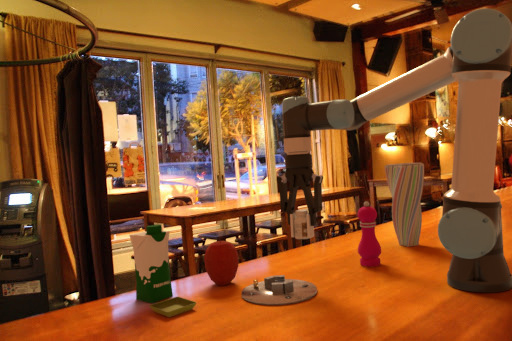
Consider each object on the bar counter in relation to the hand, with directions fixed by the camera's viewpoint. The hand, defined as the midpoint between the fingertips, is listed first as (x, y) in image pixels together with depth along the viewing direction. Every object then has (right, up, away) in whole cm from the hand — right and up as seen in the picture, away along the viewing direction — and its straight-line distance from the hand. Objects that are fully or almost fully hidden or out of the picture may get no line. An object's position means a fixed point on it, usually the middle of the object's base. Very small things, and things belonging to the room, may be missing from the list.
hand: (302, 236), depth 126 cm
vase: (+43, -9, +41) cm, 60 cm away
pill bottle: (0, -1, 0) cm, 1 cm away
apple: (-23, -15, +6) cm, 28 cm away
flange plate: (-7, -14, -6) cm, 17 cm away
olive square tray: (-34, -17, -14) cm, 40 cm away
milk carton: (-41, -16, -3) cm, 44 cm away
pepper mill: (+23, -11, +17) cm, 31 cm away
